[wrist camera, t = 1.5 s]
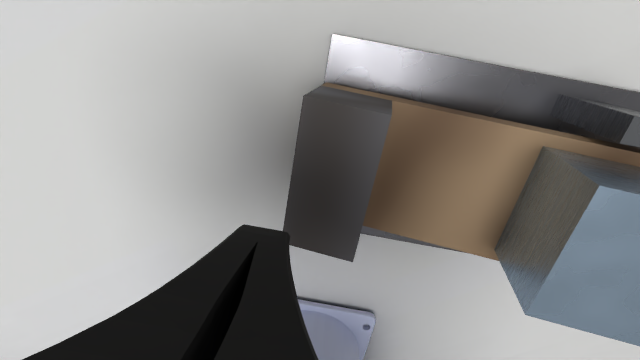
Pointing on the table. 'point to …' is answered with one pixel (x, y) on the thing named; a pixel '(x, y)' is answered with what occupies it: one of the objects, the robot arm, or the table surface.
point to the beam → (413, 171)
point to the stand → (484, 93)
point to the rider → (577, 244)
